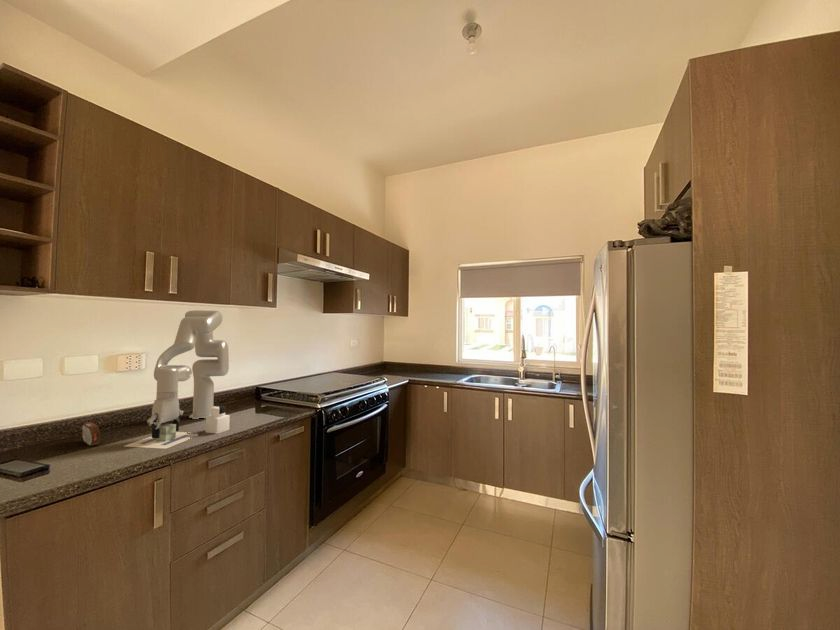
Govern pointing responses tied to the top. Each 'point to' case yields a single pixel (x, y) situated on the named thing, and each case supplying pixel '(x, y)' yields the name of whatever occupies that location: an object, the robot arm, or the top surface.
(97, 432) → the tin
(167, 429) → the cover block
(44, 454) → the top surface
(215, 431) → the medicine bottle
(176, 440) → the letter sheet
